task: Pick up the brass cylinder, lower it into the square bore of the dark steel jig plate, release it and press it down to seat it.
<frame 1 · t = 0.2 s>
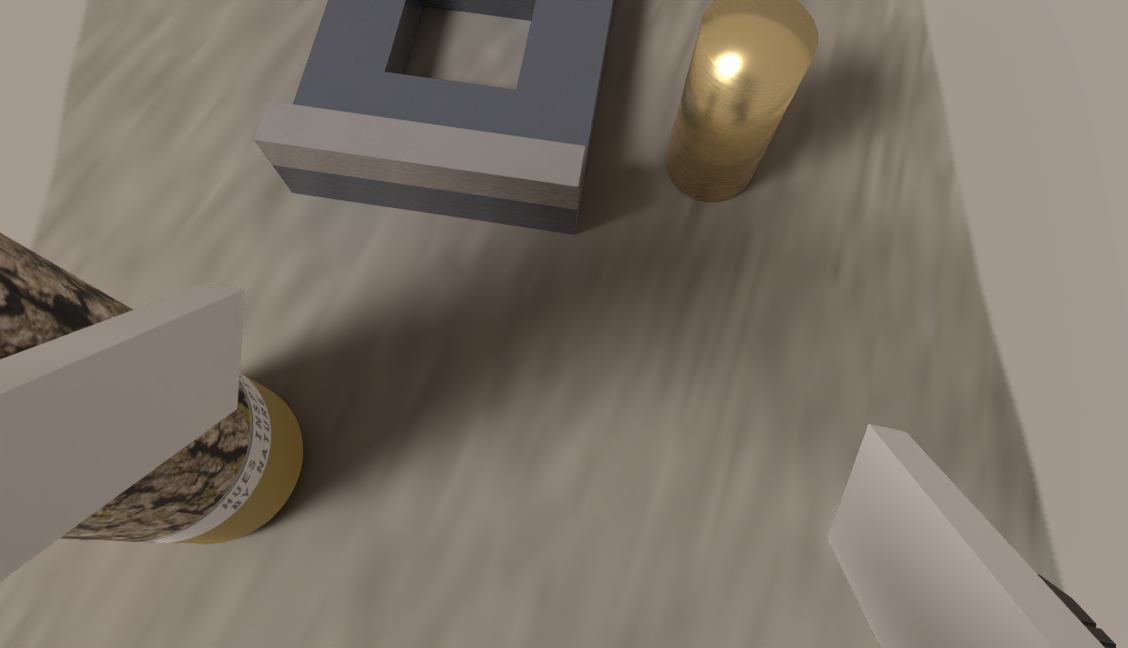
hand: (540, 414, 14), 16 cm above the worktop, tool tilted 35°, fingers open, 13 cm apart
jig: (470, 61, 36), on the worktop
paper tube: (231, 462, 30), on the worktop
brass cylinder: (709, 162, 34), on the worktop
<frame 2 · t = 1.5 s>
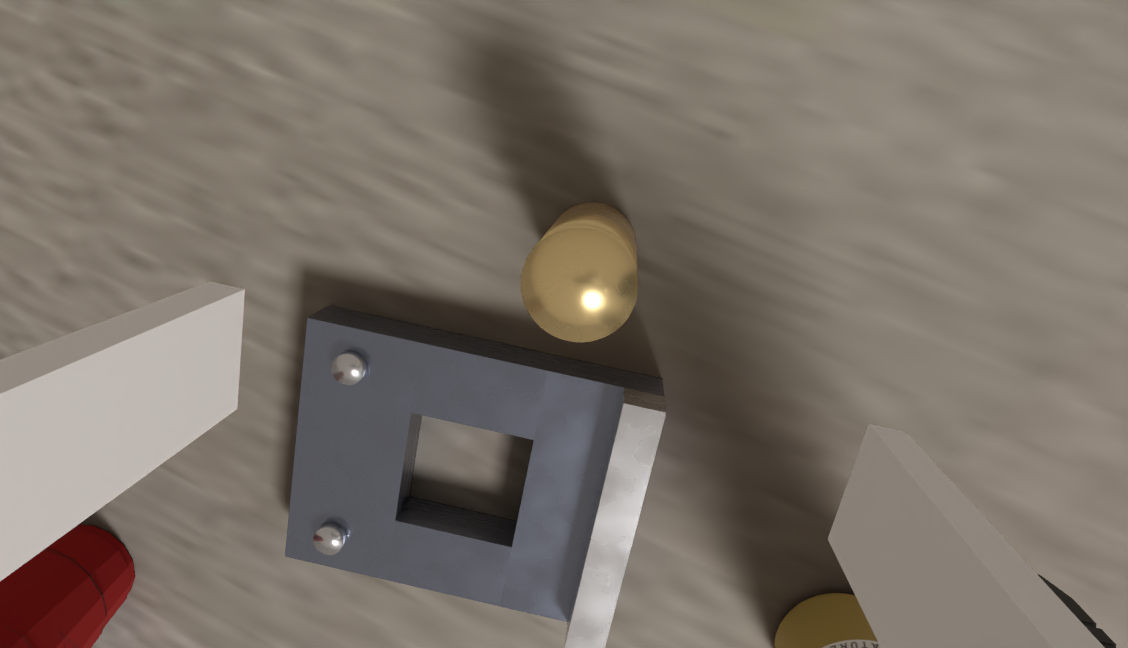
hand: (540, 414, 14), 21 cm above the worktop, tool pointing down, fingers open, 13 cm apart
plastic cup: (96, 564, 43), on the worktop
jig: (473, 459, 38), on the worktop
paper tube: (831, 634, 39), on the worktop
brass cylinder: (591, 246, 34), on the worktop
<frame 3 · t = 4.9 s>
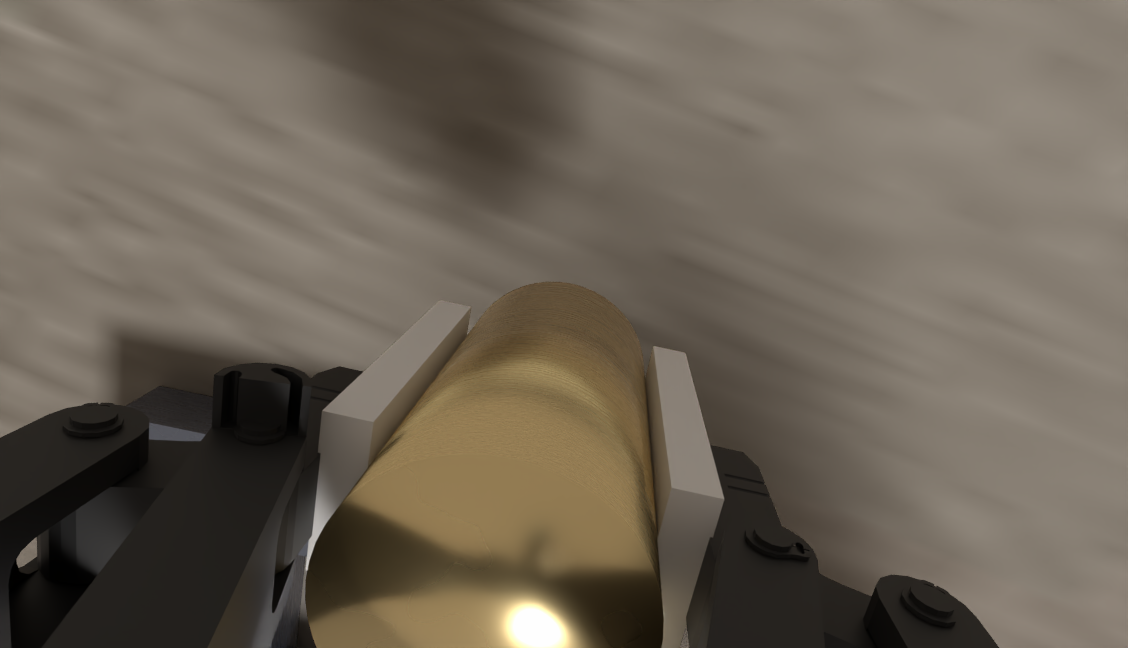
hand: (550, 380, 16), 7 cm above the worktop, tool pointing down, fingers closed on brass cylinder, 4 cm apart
jig: (384, 598, 27), on the worktop
brass cylinder: (554, 368, 17), point 6 cm above the worktop, touching gripper
when the fingers open (3 cm above the worktop, at t = 9.0 s): brass cylinder drops 3 cm, resting in jig.
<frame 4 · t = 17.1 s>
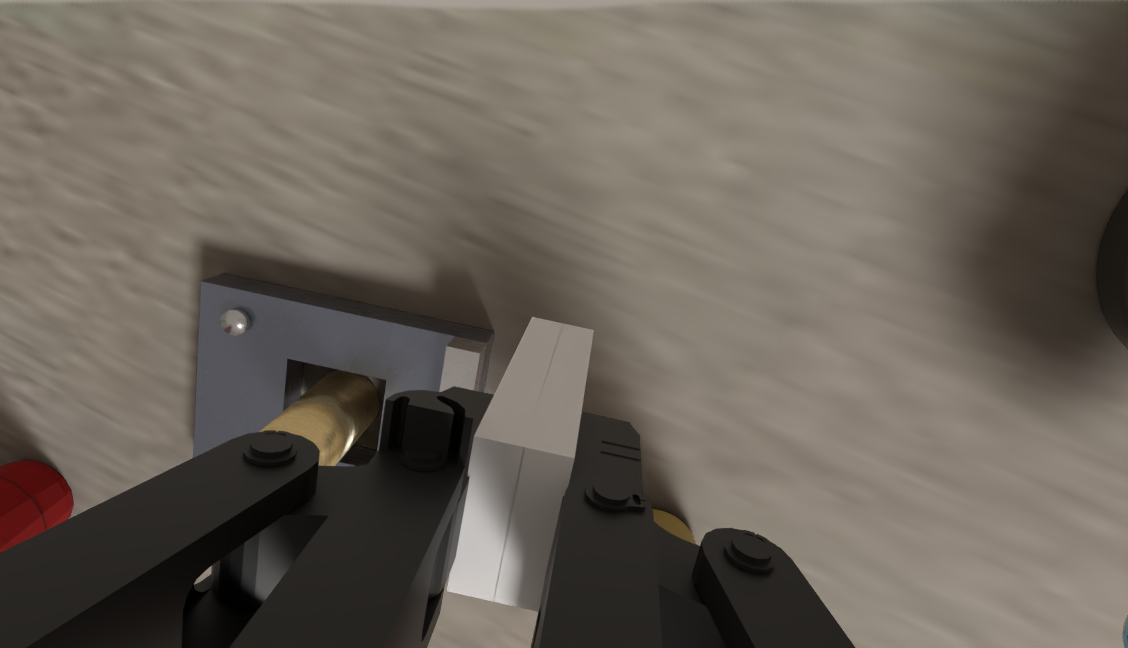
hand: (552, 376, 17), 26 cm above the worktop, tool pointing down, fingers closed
plastic cup: (41, 495, 51), on the worktop
jig: (346, 400, 46), on the worktop
paper tube: (646, 545, 48), on the worktop
brass cylinder: (347, 400, 46), resting in jig
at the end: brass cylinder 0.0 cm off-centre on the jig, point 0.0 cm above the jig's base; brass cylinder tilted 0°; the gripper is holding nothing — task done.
